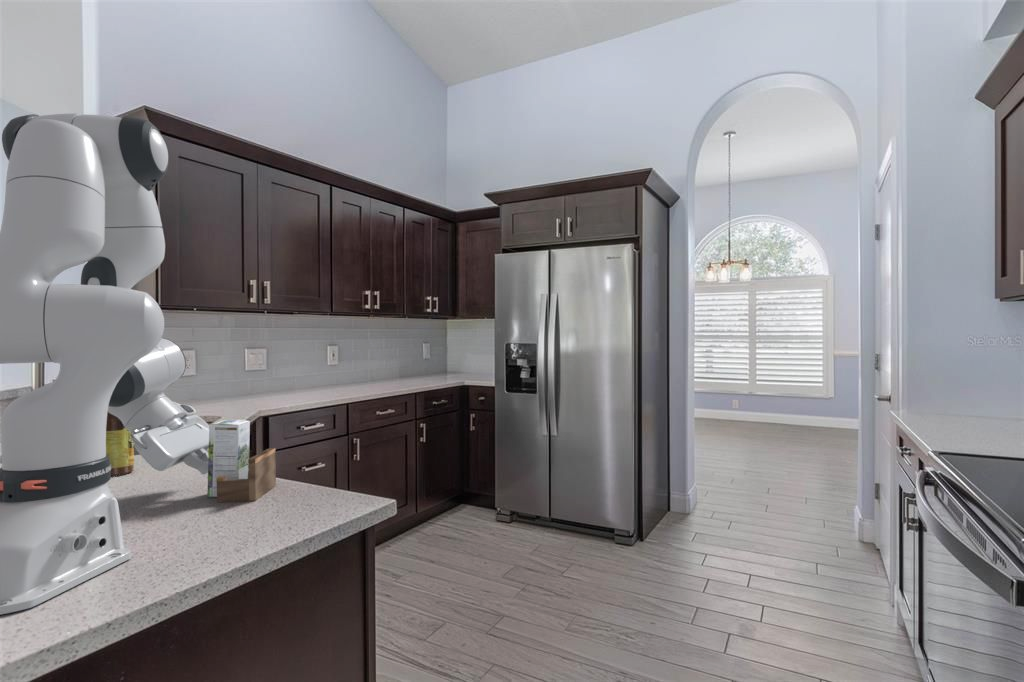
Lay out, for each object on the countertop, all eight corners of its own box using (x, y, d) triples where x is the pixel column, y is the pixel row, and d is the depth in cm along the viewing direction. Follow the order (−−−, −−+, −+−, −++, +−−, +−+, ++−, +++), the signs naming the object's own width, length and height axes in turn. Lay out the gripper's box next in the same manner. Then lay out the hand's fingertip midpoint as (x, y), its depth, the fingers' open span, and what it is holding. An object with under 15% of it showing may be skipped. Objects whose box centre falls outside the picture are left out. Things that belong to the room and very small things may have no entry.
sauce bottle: (136, 473, 126) (134, 389, 126) (103, 478, 121) (101, 391, 121) (131, 468, 130) (130, 388, 130) (99, 473, 126) (98, 390, 126)
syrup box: (220, 489, 110) (220, 419, 110) (249, 489, 110) (250, 419, 110) (206, 497, 104) (207, 423, 104) (238, 497, 105) (238, 423, 105)
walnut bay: (256, 500, 102) (255, 459, 102) (216, 502, 101) (215, 460, 101) (276, 485, 113) (275, 448, 113) (240, 487, 112) (239, 449, 112)
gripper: (138, 419, 96) (196, 471, 97) (195, 404, 116) (242, 448, 117) (112, 444, 95) (170, 497, 96) (174, 425, 116) (221, 469, 117)
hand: (210, 470), depth 107 cm, fingers closed, pressing on syrup box
